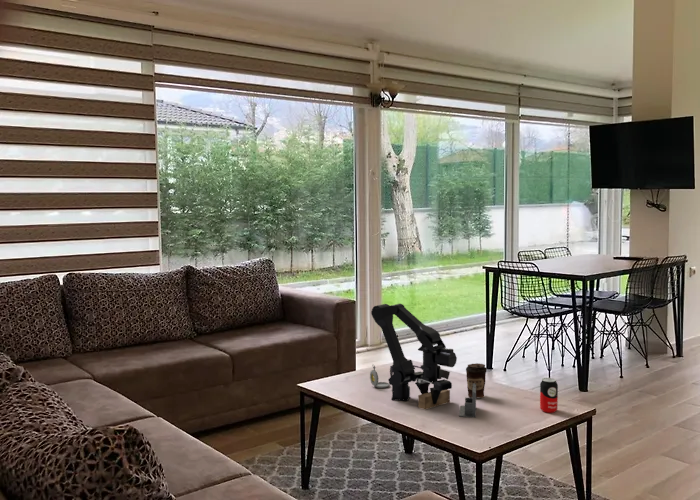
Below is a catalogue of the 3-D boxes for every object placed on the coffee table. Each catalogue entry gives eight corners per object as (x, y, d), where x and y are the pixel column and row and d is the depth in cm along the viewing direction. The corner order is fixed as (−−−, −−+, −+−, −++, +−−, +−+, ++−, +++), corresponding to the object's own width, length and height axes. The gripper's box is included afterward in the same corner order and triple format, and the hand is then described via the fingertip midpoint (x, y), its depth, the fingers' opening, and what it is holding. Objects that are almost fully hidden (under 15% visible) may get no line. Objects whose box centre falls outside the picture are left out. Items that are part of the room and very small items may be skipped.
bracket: (459, 416, 251) (459, 391, 250) (460, 406, 263) (460, 382, 262) (475, 417, 250) (475, 392, 249) (475, 407, 262) (476, 383, 261)
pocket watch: (392, 385, 293) (392, 362, 292) (382, 390, 285) (382, 367, 285) (375, 383, 297) (375, 360, 296) (365, 387, 290) (365, 364, 289)
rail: (424, 410, 260) (424, 397, 260) (418, 407, 263) (418, 395, 262) (449, 402, 269) (449, 390, 268) (443, 400, 272) (443, 388, 271)
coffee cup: (486, 400, 270) (486, 368, 269) (465, 399, 272) (465, 367, 271) (486, 393, 279) (486, 362, 278) (466, 392, 281) (466, 362, 279)
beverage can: (537, 411, 256) (538, 380, 255) (543, 407, 261) (543, 376, 260) (554, 414, 252) (554, 382, 251) (559, 409, 257) (560, 378, 256)
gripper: (462, 364, 260) (462, 404, 261) (430, 355, 276) (430, 393, 277) (440, 369, 254) (440, 410, 255) (408, 359, 269) (409, 398, 271)
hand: (430, 402), depth 265 cm, fingers open, 5 cm apart
